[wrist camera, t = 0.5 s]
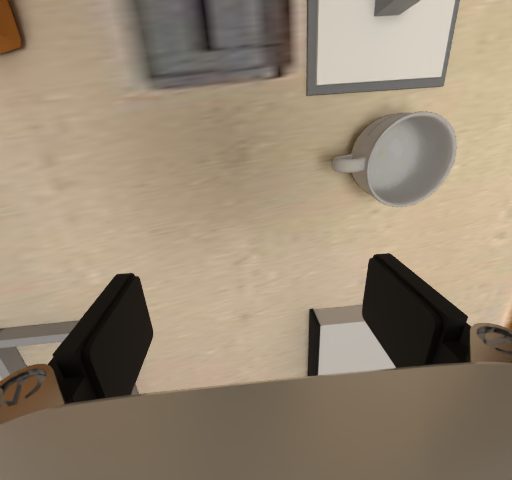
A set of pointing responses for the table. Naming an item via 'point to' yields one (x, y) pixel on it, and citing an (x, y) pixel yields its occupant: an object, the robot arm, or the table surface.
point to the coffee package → (8, 29)
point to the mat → (364, 86)
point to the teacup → (401, 157)
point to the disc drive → (343, 343)
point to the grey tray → (30, 343)
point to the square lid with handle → (381, 40)
